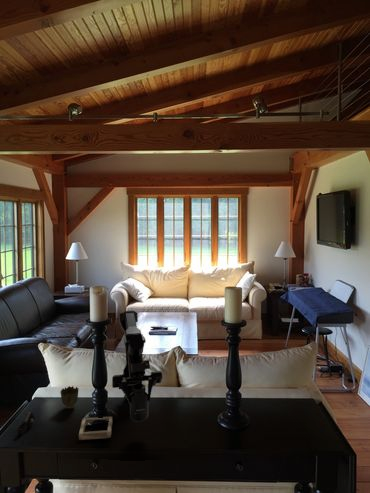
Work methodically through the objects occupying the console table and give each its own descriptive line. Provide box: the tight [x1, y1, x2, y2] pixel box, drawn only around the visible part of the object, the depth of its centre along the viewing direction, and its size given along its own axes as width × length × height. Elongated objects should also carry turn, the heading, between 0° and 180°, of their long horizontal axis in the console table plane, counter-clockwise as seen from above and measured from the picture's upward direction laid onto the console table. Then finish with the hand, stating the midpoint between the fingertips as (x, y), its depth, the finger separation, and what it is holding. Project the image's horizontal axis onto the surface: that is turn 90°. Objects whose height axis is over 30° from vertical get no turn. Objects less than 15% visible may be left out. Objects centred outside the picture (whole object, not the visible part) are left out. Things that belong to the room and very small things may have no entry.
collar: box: [78, 416, 113, 441], centre depth 149 cm, size 11×11×2 cm
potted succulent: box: [60, 385, 80, 410], centre depth 167 cm, size 8×7×8 cm
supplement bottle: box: [129, 383, 149, 422], centre depth 145 cm, size 7×7×12 cm
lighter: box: [17, 411, 36, 436], centre depth 150 cm, size 9×2×6 cm
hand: (139, 401), depth 144 cm, fingers closed on supplement bottle, 7 cm apart
